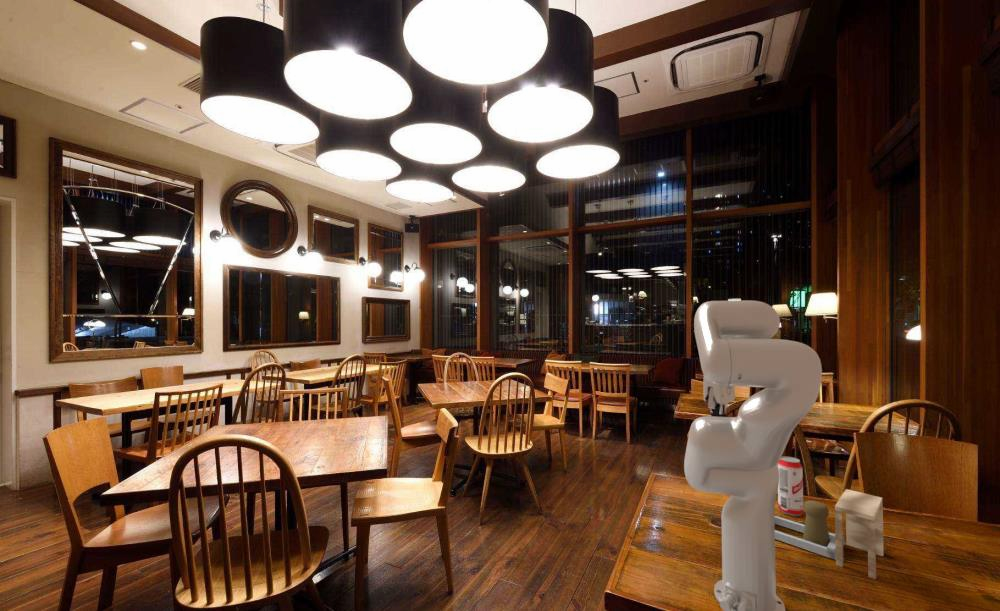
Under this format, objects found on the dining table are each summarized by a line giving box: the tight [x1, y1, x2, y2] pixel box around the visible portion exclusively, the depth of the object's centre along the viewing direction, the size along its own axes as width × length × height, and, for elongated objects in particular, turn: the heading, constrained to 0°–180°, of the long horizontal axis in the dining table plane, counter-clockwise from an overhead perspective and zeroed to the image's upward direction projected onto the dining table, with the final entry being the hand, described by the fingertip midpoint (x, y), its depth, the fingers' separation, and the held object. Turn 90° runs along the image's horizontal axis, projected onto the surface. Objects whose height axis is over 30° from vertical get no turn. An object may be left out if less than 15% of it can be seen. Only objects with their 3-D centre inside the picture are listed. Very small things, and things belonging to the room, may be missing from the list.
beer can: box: [777, 455, 804, 517], centre depth 125 cm, size 6×6×16 cm
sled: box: [775, 515, 846, 561], centre depth 111 cm, size 21×10×6 cm, turn 42°
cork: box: [802, 500, 830, 547], centre depth 107 cm, size 6×6×11 cm
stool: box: [834, 488, 885, 580], centre depth 101 cm, size 7×14×14 cm, turn 132°
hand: (718, 427), depth 112 cm, fingers closed
